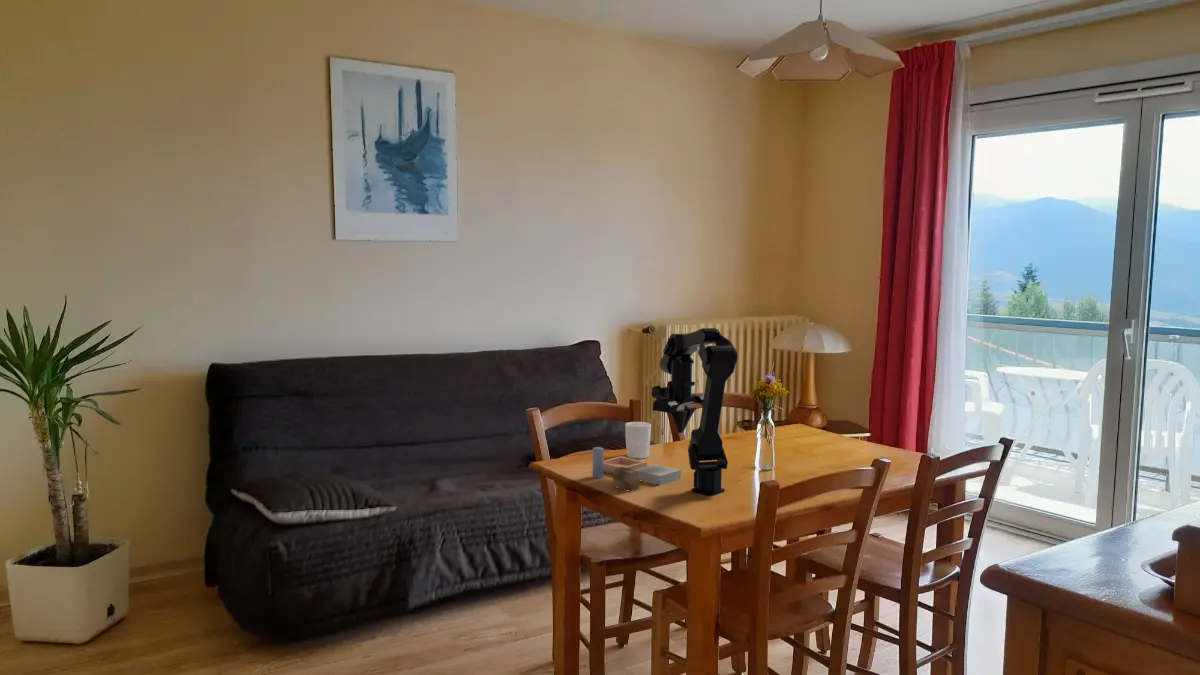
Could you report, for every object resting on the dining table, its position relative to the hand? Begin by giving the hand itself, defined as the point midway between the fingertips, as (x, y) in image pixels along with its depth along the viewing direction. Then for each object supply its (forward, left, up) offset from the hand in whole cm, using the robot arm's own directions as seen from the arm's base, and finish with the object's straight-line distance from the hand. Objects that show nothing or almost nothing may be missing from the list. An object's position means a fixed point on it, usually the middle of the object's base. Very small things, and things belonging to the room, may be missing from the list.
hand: (680, 432), depth 230 cm
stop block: (0, +23, -11) cm, 26 cm away
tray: (+13, +10, -11) cm, 20 cm away
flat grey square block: (0, +10, -12) cm, 15 cm away
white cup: (+21, -6, -12) cm, 25 cm away
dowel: (+13, +20, -11) cm, 26 cm away
